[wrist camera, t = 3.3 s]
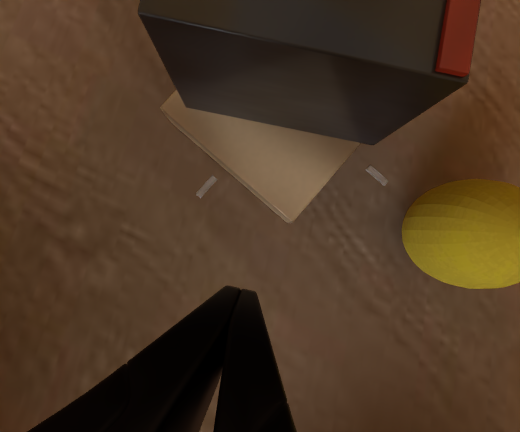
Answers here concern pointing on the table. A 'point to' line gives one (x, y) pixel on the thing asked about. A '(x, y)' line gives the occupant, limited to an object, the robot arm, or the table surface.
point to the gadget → (315, 59)
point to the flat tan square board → (265, 156)
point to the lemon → (466, 233)
